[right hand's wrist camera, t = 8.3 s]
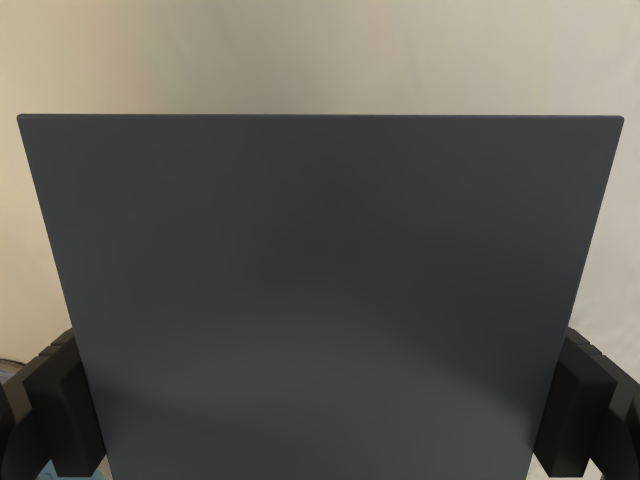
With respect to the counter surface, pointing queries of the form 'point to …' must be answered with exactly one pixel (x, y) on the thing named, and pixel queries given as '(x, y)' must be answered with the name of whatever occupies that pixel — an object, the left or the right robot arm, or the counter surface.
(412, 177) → the slab
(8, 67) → the counter surface
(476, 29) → the counter surface
